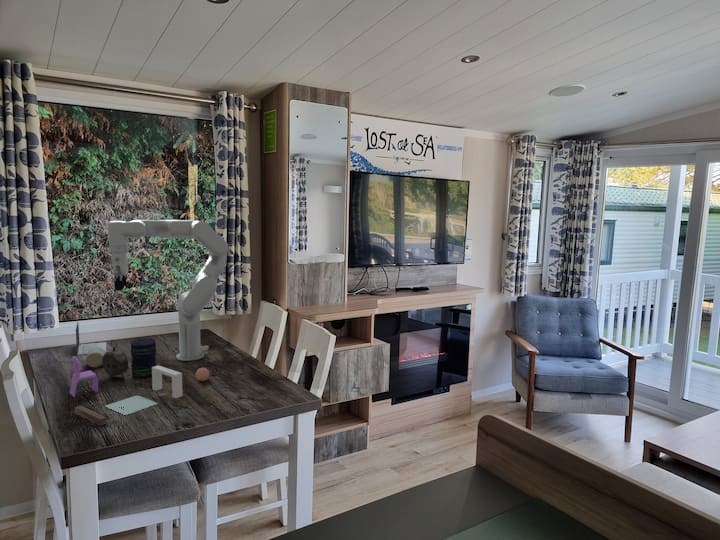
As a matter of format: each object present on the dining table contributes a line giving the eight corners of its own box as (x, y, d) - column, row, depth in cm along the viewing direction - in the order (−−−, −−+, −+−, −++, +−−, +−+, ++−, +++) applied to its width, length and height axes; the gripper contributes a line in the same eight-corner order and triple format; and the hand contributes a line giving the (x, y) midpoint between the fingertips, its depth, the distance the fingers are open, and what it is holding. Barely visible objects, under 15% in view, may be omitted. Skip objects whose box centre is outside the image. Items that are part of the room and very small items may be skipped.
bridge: (159, 387, 202) (158, 365, 201) (182, 396, 194) (181, 373, 193) (152, 389, 199) (151, 367, 198) (175, 398, 192) (175, 375, 190)
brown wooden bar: (81, 412, 177) (80, 405, 177) (106, 424, 168) (106, 417, 168) (75, 414, 175) (74, 407, 175) (100, 426, 167) (100, 419, 166)
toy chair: (99, 393, 195) (98, 355, 193) (74, 399, 189) (72, 360, 187) (92, 387, 201) (90, 350, 199) (68, 392, 195) (66, 355, 192)
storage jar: (151, 370, 222) (150, 337, 220) (160, 376, 215) (159, 342, 213) (128, 375, 215) (126, 341, 213) (137, 381, 208) (135, 346, 206)
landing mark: (137, 395, 193) (137, 395, 193) (158, 403, 186) (158, 403, 186) (104, 406, 183) (104, 406, 182) (125, 415, 175) (125, 415, 175)
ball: (203, 377, 215) (203, 365, 214) (212, 380, 212) (212, 367, 211) (192, 381, 210) (192, 368, 209) (201, 384, 207) (201, 371, 206)
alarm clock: (129, 378, 211) (128, 340, 209) (118, 382, 207) (117, 343, 204) (111, 373, 216) (109, 337, 214) (100, 377, 211) (98, 340, 209)
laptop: (106, 353, 245) (105, 327, 243) (76, 356, 239) (75, 329, 238) (106, 343, 261) (105, 318, 259) (78, 346, 255) (77, 320, 254)
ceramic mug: (85, 369, 221) (85, 352, 220) (87, 363, 228) (87, 347, 227) (112, 367, 225) (112, 350, 224) (113, 361, 233) (113, 345, 232)
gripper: (125, 251, 214) (127, 291, 216) (131, 247, 230) (132, 284, 233) (105, 251, 212) (107, 291, 214) (113, 247, 228) (115, 284, 230)
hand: (120, 287), depth 223 cm, fingers open, 9 cm apart
